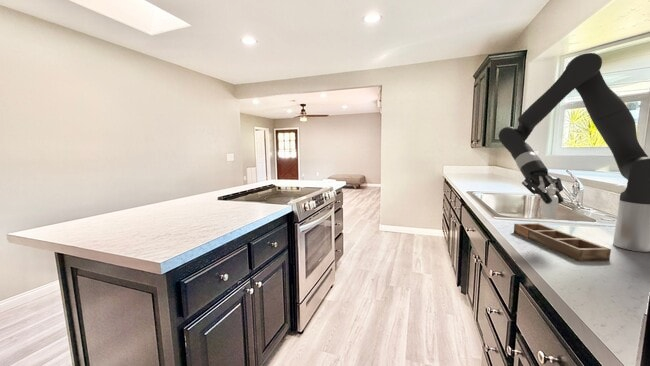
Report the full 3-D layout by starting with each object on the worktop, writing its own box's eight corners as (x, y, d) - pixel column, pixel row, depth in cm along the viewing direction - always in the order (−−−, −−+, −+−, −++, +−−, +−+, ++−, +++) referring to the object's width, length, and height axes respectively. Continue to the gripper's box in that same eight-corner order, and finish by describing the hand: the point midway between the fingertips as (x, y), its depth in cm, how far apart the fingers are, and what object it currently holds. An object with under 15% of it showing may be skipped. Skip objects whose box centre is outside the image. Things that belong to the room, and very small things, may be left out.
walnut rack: (537, 232, 113) (538, 223, 113) (609, 260, 85) (611, 249, 84) (512, 232, 113) (513, 223, 113) (577, 261, 85) (578, 249, 84)
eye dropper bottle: (555, 215, 96) (559, 183, 94) (556, 219, 91) (560, 186, 89) (540, 214, 98) (543, 182, 97) (540, 217, 94) (544, 184, 92)
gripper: (519, 159, 99) (543, 197, 89) (554, 159, 99) (582, 196, 89) (507, 172, 105) (528, 208, 95) (541, 171, 105) (566, 207, 95)
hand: (554, 202), depth 92 cm, fingers closed on eye dropper bottle, 3 cm apart
